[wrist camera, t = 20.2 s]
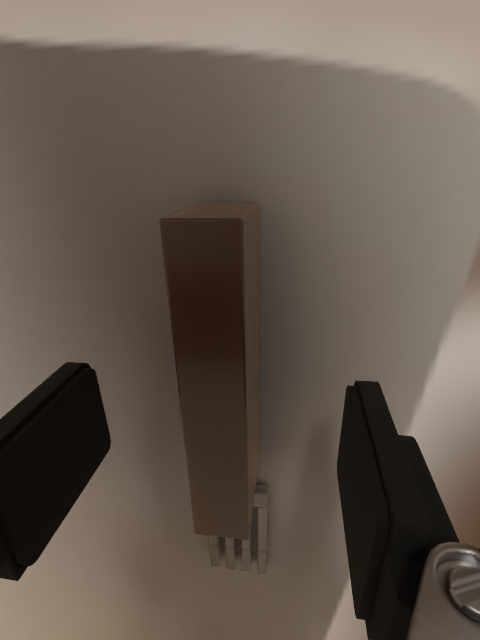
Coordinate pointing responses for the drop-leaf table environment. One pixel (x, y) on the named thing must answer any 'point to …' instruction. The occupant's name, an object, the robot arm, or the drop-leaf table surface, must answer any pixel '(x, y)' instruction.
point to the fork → (219, 369)
